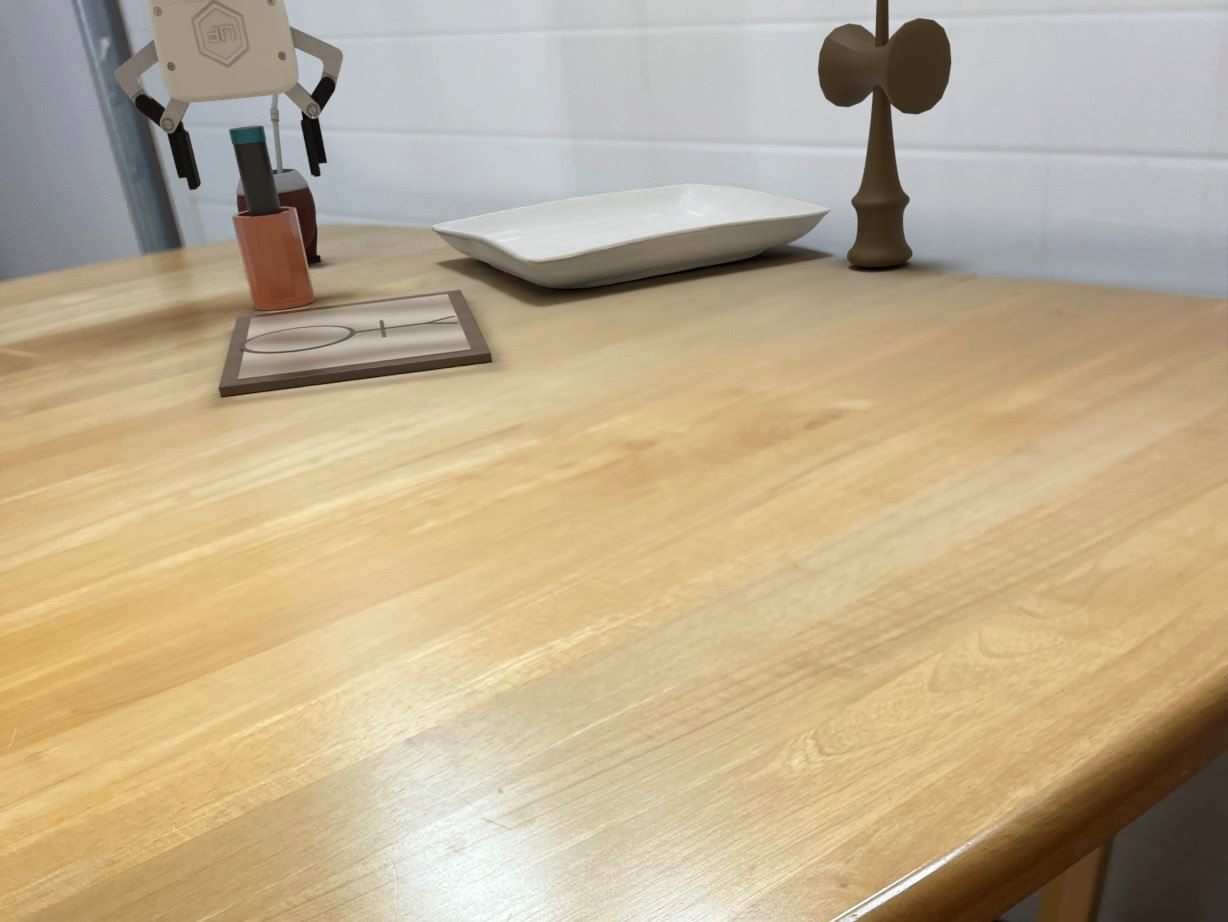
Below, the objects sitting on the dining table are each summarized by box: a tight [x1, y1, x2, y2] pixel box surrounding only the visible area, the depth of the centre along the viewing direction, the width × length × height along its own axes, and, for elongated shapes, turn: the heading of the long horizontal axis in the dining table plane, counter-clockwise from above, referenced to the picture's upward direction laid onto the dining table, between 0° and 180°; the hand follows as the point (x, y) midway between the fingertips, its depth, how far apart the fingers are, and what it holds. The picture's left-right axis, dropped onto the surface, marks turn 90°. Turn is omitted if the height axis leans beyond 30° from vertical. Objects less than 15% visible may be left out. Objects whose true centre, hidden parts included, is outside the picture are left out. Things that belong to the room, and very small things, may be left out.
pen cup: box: [231, 207, 316, 311], centre depth 112 cm, size 5×5×7 cm
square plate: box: [431, 182, 831, 290], centre depth 118 cm, size 27×27×4 cm
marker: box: [228, 125, 281, 216], centre depth 110 cm, size 3×3×12 cm
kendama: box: [817, 0, 952, 268], centre depth 102 cm, size 6×10×20 cm, turn 31°
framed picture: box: [218, 289, 493, 397], centre depth 99 cm, size 24×18×1 cm
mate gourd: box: [235, 94, 322, 264], centre depth 126 cm, size 8×8×15 cm
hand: (256, 181), depth 109 cm, fingers open, 9 cm apart
